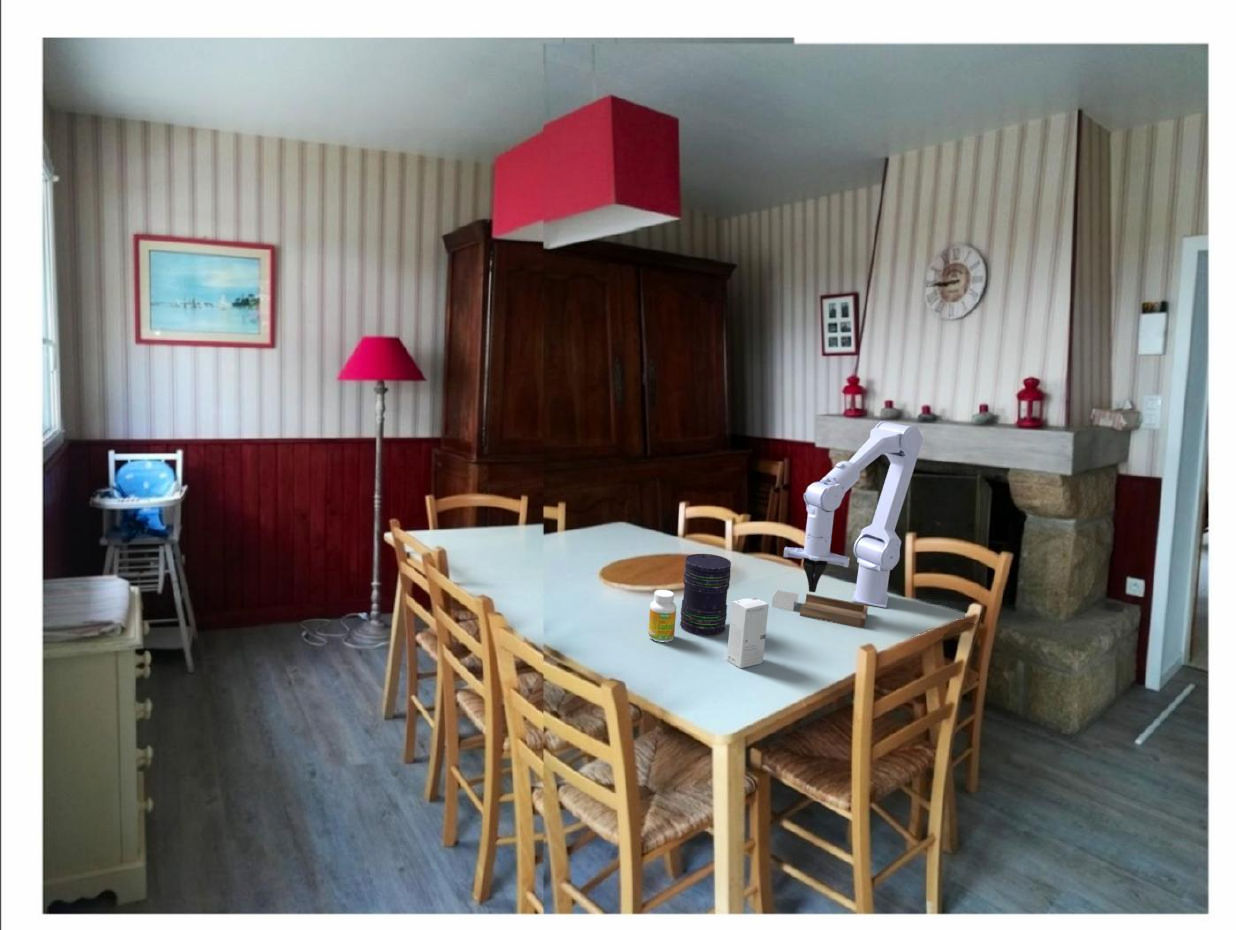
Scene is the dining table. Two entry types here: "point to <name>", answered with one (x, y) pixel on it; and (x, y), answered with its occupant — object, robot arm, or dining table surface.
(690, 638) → the dining table surface
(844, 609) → the wooden box
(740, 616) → the skincare box
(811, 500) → the robot arm
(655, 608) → the supplement bottle
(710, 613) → the dark blue cylinder
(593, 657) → the dining table surface
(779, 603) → the cover plate
